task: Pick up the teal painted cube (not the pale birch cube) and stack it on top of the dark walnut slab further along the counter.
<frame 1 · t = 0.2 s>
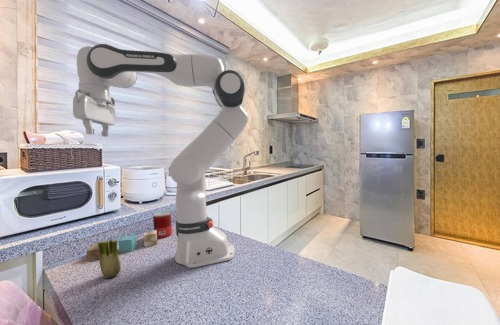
hand: (98, 135, 78), 47 cm above the worktop, tool pointing down, fingers open, 8 cm apart
canned food: (163, 235, 108), on the worktop
fennel bulb: (111, 276, 73), on the worktop
birch cube: (151, 243, 98), on the worktop
walnut slab: (101, 255, 89), on the worktop
teal cube: (128, 249, 93), on the worktop
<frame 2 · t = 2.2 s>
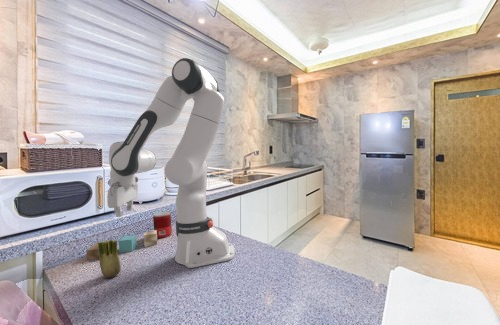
hand: (124, 213, 93), 15 cm above the worktop, tool pointing down, fingers open, 8 cm apart
nothing on the worktop moved.
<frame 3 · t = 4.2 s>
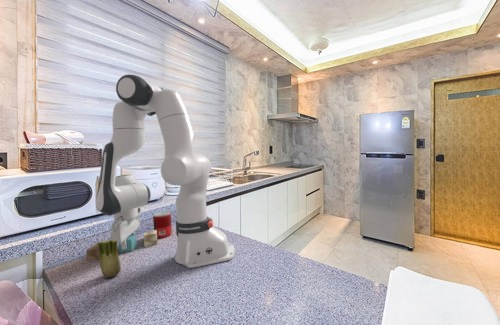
hand: (128, 245, 93), 2 cm above the worktop, tool pointing down, fingers closed on teal cube, 5 cm apart
teal cube: (128, 249, 93), on the worktop, touching gripper
everything else where it was.
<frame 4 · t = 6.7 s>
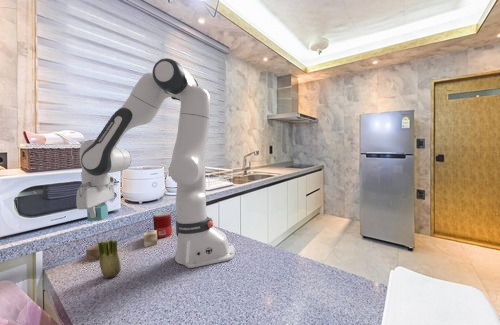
hand: (98, 215, 89), 16 cm above the worktop, tool pointing down, fingers closed on teal cube, 5 cm apart
teal cube: (98, 218, 89), point 15 cm above the worktop, touching gripper
everything else where it was.
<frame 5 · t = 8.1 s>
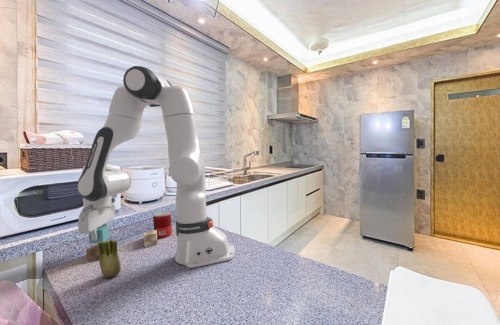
hand: (99, 236, 89), 8 cm above the worktop, tool pointing down, fingers closed on teal cube, 5 cm apart
teal cube: (99, 240, 89), point 6 cm above the worktop, touching gripper
everything else where it was.
when the fingers open (7 cm above the worktop, at t = 9.2 s): teal cube drops 1 cm, point 4 cm above the worktop.
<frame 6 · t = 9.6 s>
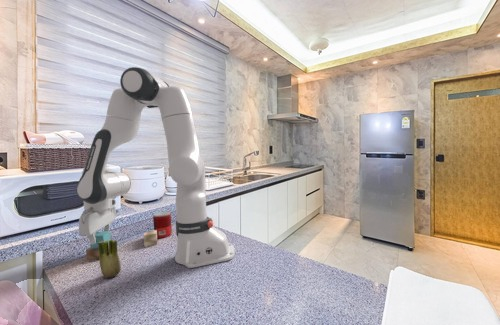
hand: (100, 238, 89), 7 cm above the worktop, tool pointing down, fingers open, 8 cm apart
teal cube: (101, 245, 89), point 4 cm above the worktop
everything else where it was.
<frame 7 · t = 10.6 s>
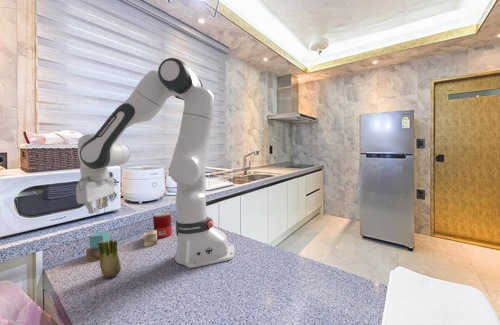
hand: (99, 210, 88), 18 cm above the worktop, tool pointing down, fingers open, 8 cm apart
walnut slab: (102, 255, 89), on the worktop, touching teal cube
teal cube: (100, 245, 89), point 4 cm above the worktop, touching walnut slab
everything else where it was.
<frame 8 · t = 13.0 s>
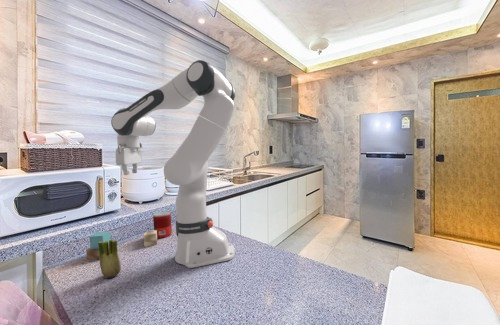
hand: (130, 174, 103), 31 cm above the worktop, tool pointing down, fingers open, 8 cm apart
walnut slab: (102, 255, 89), on the worktop
teal cube: (101, 246, 89), point 4 cm above the worktop
everything else where it was.
at the end: teal cube 0.1 cm off-centre on the walnut slab, point 4.0 cm above the walnut slab's base; teal cube tilted 0°; the gripper is holding nothing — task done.
